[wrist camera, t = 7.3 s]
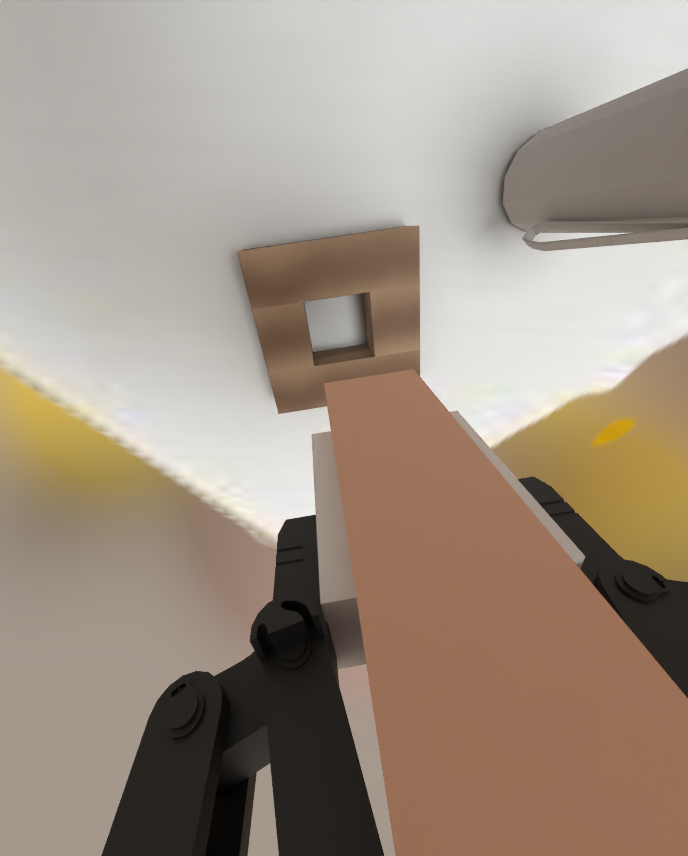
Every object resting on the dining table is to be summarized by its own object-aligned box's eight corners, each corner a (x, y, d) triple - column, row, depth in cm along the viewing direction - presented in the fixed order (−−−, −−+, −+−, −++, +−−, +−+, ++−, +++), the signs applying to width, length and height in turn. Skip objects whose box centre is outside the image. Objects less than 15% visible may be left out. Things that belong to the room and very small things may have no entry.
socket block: (244, 249, 28) (237, 252, 25) (405, 226, 29) (419, 225, 25) (280, 396, 36) (278, 413, 32) (408, 376, 36) (419, 391, 33)
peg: (323, 383, 15) (431, 1099, 2) (413, 369, 15) (926, 986, 3) (336, 457, 17) (427, 1046, 5) (414, 444, 17) (705, 982, 5)
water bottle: (545, 99, 26) (1793, -575, 4) (598, 175, 29) (1489, 6, 7) (461, 214, 29) (920, 163, 7) (516, 271, 32) (958, 353, 10)
